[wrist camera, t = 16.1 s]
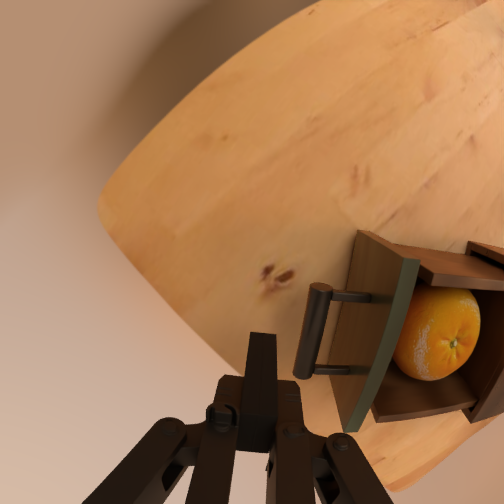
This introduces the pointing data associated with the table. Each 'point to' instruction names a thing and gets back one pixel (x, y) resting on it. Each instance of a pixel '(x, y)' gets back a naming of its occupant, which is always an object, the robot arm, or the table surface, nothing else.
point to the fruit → (437, 332)
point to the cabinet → (500, 387)
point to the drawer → (398, 332)
